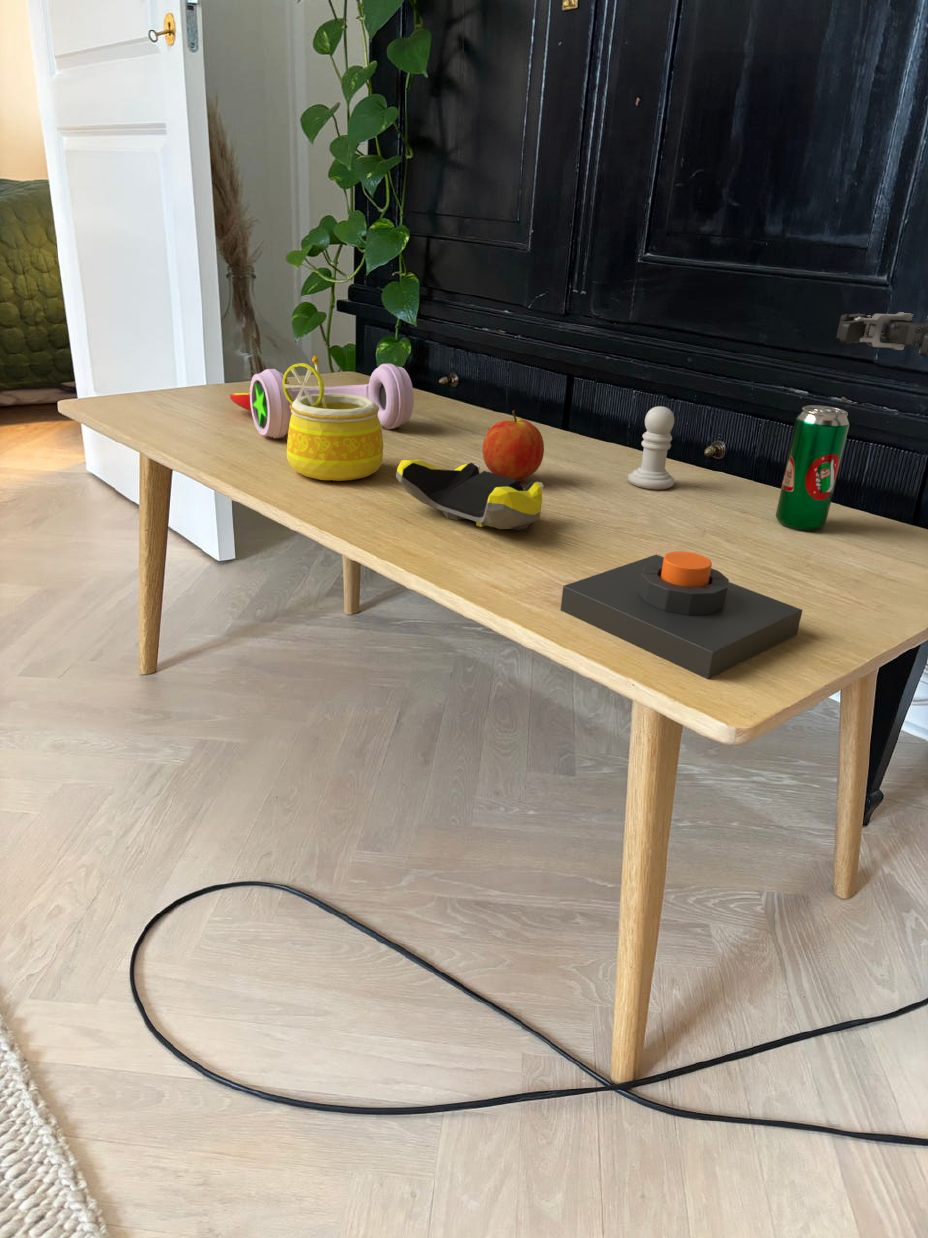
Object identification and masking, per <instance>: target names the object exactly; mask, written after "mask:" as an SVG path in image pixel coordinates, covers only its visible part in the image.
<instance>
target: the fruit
mask: <svg viewBox="0 0 928 1238" xmlns="http://www.w3.org/2000/svg"><path fill="white" fill-rule="evenodd" d="M511 414H512V416H513V419H512V418H510V419H503V420H500V421H497V422H496V423H494V424H493V425H491V427H490V428H489V429H488V430H487V432H486V434H485V436H484V438H483V442H482V458H483V462H484V464H485V466H486V468H487V469H488V470H489V472H490V473H493V474H497V475H500V476H504V477H507V478H511V479H514V480H517V481H518V482H521V481H524V480H525V479H527V478H530V477H531V476H532V475H533V474H535V473H536V472H537V471H538V469H539V468H540V467H541V464H542V462H543V459H544V456H545V455H544V454H545V444H544V443H545V442H544V437H543V435H542V434H541V432H540V430H539V428H538V427H536V425H534V424H532V423H531V422H529V421H528V420H526V419H523V418H517V416H516V412H515V410H514V409H513V410H512V412H511Z"/></svg>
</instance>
